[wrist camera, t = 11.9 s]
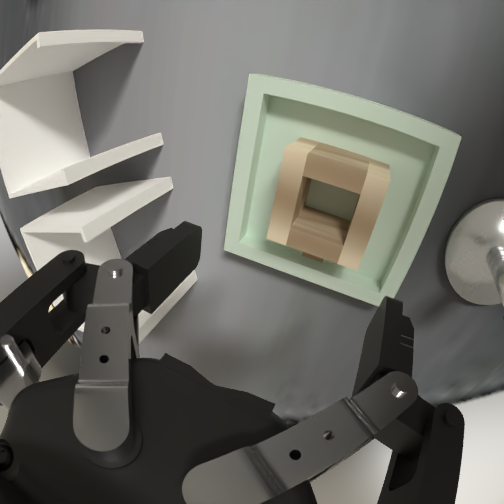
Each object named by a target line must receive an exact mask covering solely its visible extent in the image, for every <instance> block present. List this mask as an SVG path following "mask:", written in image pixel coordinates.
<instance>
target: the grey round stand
mask: <svg viewBox="0 0 504 504" xmlns="http://www.w3.org/2000/svg"><path fill="white" fill-rule="evenodd" d="M444 262H445V268H446V272H447V276H448V279H449V282H450V284H451V285H452V287H453V289H454V290H455V291H456V292H457V293H458V294H459V295H460V296H461V297H462V298H464V299H465V300H467V301H469V302H472V303H475V304H480V305H494V304H499V303H502V304H503V306H504V198H492V199H487V200H484V201H481V202H479V203H477V204H475V205H473V206H472V207H471V208H469V209H468V210H467V211H465V212H464V213H463V214H462V215H461V216H460V218H459V219H458V220H457V221H456V223H455V224H454V226H453V227H452V229H451V231H450V233H449V236H448V238H447V241H446V245H445V252H444ZM503 319H504V317H503Z"/></svg>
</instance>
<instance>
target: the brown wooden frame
mask: <svg viewBox="0 0 504 504" xmlns="http://www.w3.org/2000/svg"><path fill="white" fill-rule="evenodd" d="M311 179H315V180H318V181H321V182H324V183H327V184H330V185H334V186H337V187H340V188H343V189H346V190H349V191H352V192H355V193H357V194H359V197H358V200H357V203H356V206H355V209H354V212H353V215H352V218H351V221H349V220H347V219H344V218H341V217H338V216H335V215H332V214H329V213H326V212H323V211H320V210H317V209H314V208H311V207H308V206H305V203H306V199H307V195H308V191H309V187H310V183H311ZM389 183H390V167H389V164H386V163H383V162H381V161H378V160H375V159H372V158H369V157H366V156H363V155H360V154H357V153H354V152H351V151H348V150H344V149H341V148H338V147H335V146H331V145H328V144H325V143H321V142H318V141H314V140H311V139H307V138H303V137H300V138H299V139H297V140H295V141H294V142H292V143H291V144H289V145H288V146H286V147H285V148H284V154H283V159H282V164H281V169H280V174H279V179H278V184H277V189H276V194H275V198H274V203H273V208H272V213H271V218H270V223H269V228H268V233H267V238H266V239H268V240H271V241H274V242H277V243H280V244H282V245H285V246H288V247H291V248H294V249H297V250H300V251H302V252H303V254H302V256H305V257H307V258H310V259H313V260H316V261H319V262H321V263H322V262H323V260H324V259H325V260H328V261H331V262H334V263H336V264H339V265H342V266H345V267H348V268H350V269H353V270H356V271H357V270H358V267H359V265H360V262H361V260H362V257H363V255H364V252H365V250H366V247H367V245H368V242H369V239H370V237H371V234H372V231H373V229H374V226H375V223H376V221H377V218H378V215H379V212H380V210H381V207H382V204H383V201H384V198H385V195H386V192H387V189H388V186H389Z"/></svg>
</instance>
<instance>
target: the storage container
mask: <svg viewBox="0 0 504 504" xmlns="http://www.w3.org/2000/svg"><path fill="white" fill-rule="evenodd" d="M143 42H144V39H143V33H142V31H131V30H66V31H50V32H39V33H38V34H37V35H36V36H34V37H33V38H32V39H31V40H30V41H29V42H28V43H27V44H26V45H25V46H24V47H23V48H22V49H21V50H20V51H19V52H18V53H17V54H16V55H15V56H14V57H13V58H12V59H11V60H10V61H9V62H8V63H7V64H6V65H5V66H4V67H3V68H2V69H1V70H0V168H1V171H2V175H3V179H4V182H5V185H6V189H7V192H8V195H9V198H13V197H17V196H22V195H26V194H30V193H34V192H39V191H43V190H47V189H52V188H57V187H61V186H66V185H70V184H72V183H74V182H76V181H78V180H80V179H82V178H84V177H86V176H89V175H91V174H93V173H95V172H97V171H100V170H102V169H104V168H107V167H109V166H111V165H113V164H116V163H118V162H121V161H123V160H125V159H128V158H130V157H133V156H135V155H138V154H140V153H143V152H145V151H148V150H150V149H153V148H156V147H158V146H161V145H164V144H163V140H162V135H161V133H157V134H154V135H151V136H148V137H145V138H142V139H139V140H136V141H133V142H130V143H127V144H125V145H122V146H119V147H116V148H114V149H111V150H108V151H106V152H103V153H100V154H98V155H95V156H93V157H90V153H89V149H88V145H87V141H86V137H85V132H84V128H83V123H82V119H81V114H80V109H79V104H78V99H77V94H76V88H75V82H74V76H73V71H74V70H76V69H78V68H79V67H81V66H83V65H84V64H86V63H88V62H90V61H92V60H93V59H95V58H97V57H99V56H101V55H103V54H104V53H106V52H108V51H110V50H112V49H114V48H116V47H118V46H120V45H122V44H124V43H143ZM172 189H173V184H172V180H171V177H164V178H155V179H147V180H139V181H131V182H124V183H117V184H110V185H103V186H97V187H94V188H93V189H91V190H89V191H87V192H85V193H83V194H81V195H79V196H77V197H75V198H73V199H71V200H69V201H67V202H66V203H64V204H62V205H60V206H58V207H56V208H55V209H53V210H51V211H49V212H48V213H46V214H44V215H42V216H41V217H39V218H37V219H35V220H34V221H32V222H30V223H29V224H27V225H25V226H24V227H22V228H20V230H21V233H22V235H23V238H24V241H25V243H26V246H27V248H28V251H29V253H30V255H31V258H32V260H33V262H34V265H35V267H36V269H37V271H38V270H39V269H40V268H42V267H43V266H44V265H45V264H47V263H48V262H49V261H50V260H52V259H53V258H54V257H56V256H57V255H58V254H60V253H61V252H64V251H67V250H78V251H80V252H82V253H83V255H84V258H85V263H89V264H94V265H100V266H101V264H103V263H104V262H106V261H108V260H111V259H122V258H121V255H120V252H119V250H118V247H117V244H116V241H115V238H114V235H113V232H112V229H111V226H113V225H114V224H116V223H117V222H119V221H121V220H122V219H124V218H125V217H127V216H128V215H130V214H132V213H133V212H135V211H136V210H138V209H140V208H141V207H143V206H145V205H146V204H148V203H150V202H151V201H153V200H155V199H156V198H158V197H160V196H161V195H163V194H165V193H166V192H168V191H170V190H172ZM196 281H197V276H196V273H195V271H193V272H192V273H191V274H190V275H189V276H188V277H187V278H186V279H185V280H184V281H183V282H182V283H181V284H180V285H179V286H178V287H177V288H176V289H175V290H174V291H173V292H172V293H171V294H170V296H169V297H168V298H167V299H166V300H165V301H164V302H163V303H162V304H161V305H160V306H159V307H158V308H157V309H156V310H155V311H154V312H153V313H152V314H150V313H148V312H146V311H144V310H142V311H141V312H140V313H139V314H138V317H139V344H140V343H141V341H142V340H143V339H144V338H145V337H146V336H147V335H148V334H149V333H150V331H151V330H152V329H153V328H154V327H155V326H156V325H157V324H158V323H159V321H160V320H161V319H162V318H163V317H164V316H165V315H166V314H167V313H168V312H169V310H170V309H171V308H172V307H173V306H174V305H175V304H176V303H177V302H178V301H179V300H180V298H181V297H182V296H183V295H184V294H185V293H186V292H187V291H188V290H189V289H190V288H191V286H192V285H193V284H194V283H195V282H196ZM63 299H64V298H63V294H61V295H60V296H59V297H58V298H57V299H56V300H55V301H54V302H53V305H54V307H55V306H57V305H58V304H59V303H60V302H61V301H62V300H63ZM84 325H85V322H84V323H83V324H82V325H81V326H80V327H79V328H78V330H80V331H83V332H84Z"/></svg>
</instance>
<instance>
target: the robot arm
mask: <svg viewBox="0 0 504 504" xmlns="http://www.w3.org/2000/svg"><path fill="white" fill-rule="evenodd" d="M201 238H202V228H201V227H200V226H197V225H194V224H192V223H189V222H186V221H184V222H182V223H181V224H180V225H179V226H177V227H176V228H175V229H172V228H170V229H167V230H164V231H161V232H159V233H158V234H157V235H156V236H154V237H153V238H152V239H150V240H149V241H148V242H146V244H144V245H143V246H141V247H140V248H139V249H137V250H136V251H135V252H134V253H132V254H131V255H130V256H129V257H127V258H126V259H125V260H124V259H111V260H108V261H106V262H104V263H103V264H101V266H100V265H94V264H89V263H85V258H84V255H83V253H82V252H80V251H78V250H67V251H64V252H61V253H60V254H58V255H57V256H56V257H54V258H53V259H52V260H50V261H49V262H48V263H47V264H45V265H44V266H43V267H42V268H40V269H39V270H38V271H37V272H36V273H34V274H33V275H32V276H31V277H30V278H28V279H27V280H26V281H25V282H24V283H22V284H21V285H20V286H19V287H18V288H17V289H15V290H14V291H13V292H12V293H11V294H10V295H8V296H7V297H6V298H5V299H4V300H3V301H2V302H1V303H0V405H2V406H4V407H5V408H6V409H8V411H9V413H8V417H7V420H6V424H5V426H4V429H3V431H2V433H1V435H0V504H317V501H316V498H315V495H314V493H313V490H312V487H311V484H310V483H311V482H312V481H314V480H315V479H317V478H319V477H320V476H322V475H323V474H325V473H327V472H328V471H329V470H331V469H332V468H334V467H335V466H337V465H338V464H340V463H341V462H342V461H344V460H345V459H347V458H348V457H350V456H351V455H353V454H354V453H355V452H357V451H358V450H360V449H361V448H362V447H364V446H365V445H366V444H368V443H369V442H370V441H371V440H373V439H374V438H375V439H377V440H378V441H380V442H381V443H383V444H384V445H386V446H387V447H389V448H390V449H392V450H393V451H392V455H391V459H390V463H389V466H388V470H387V474H386V477H385V480H384V484H383V487H382V490H381V493H380V496H379V500H378V503H377V504H455V499H456V493H457V488H458V481H459V475H460V467H461V459H462V450H463V438H464V425H465V424H464V418H463V415H462V414H461V412H460V410H459V409H458V408H457V407H455V406H454V405H452V404H449V403H443V404H440V405H439V406H438V407H437V408H435V407H434V406H432V405H431V404H429V403H428V402H426V401H425V400H423V399H422V398H421V397H420V396H419V395H418V387H417V385H416V383H415V381H414V380H413V379H412V366H413V343H414V340H413V339H414V328H413V325H412V323H411V320H410V318H408V317H405V316H403V315H402V310H403V303H402V301H399V300H396V299H394V298H391V297H388V296H385V297H384V298H383V300H382V302H381V304H380V305H379V307H378V309H377V311H376V313H375V315H374V316H373V318H372V320H371V322H370V324H369V326H368V328H367V331H366V334H365V339H364V344H363V349H362V354H361V359H360V363H359V368H358V372H357V377H356V381H355V385H354V390H353V394H352V398H350V399H348V398H347V397H346V398H343V399H341V400H339V401H338V402H336V403H334V404H333V405H331V406H329V407H327V408H326V409H324V410H322V411H320V412H319V413H317V414H315V415H313V416H312V417H310V418H308V419H306V420H304V421H302V422H300V423H299V424H297V425H295V426H293V427H291V428H289V427H288V426H287V425H286V423H285V422H284V421H283V420H282V419H281V418H280V417H279V416H277V415H276V414H275V413H273V412H272V410H273V408H274V406H275V404H274V403H272V402H269V401H267V400H264V399H262V398H259V397H257V396H255V395H252V394H250V393H248V392H244V391H238V390H234V389H229V388H224V387H219V386H216V385H213V384H212V383H211V382H209V381H208V380H207V379H206V378H204V377H203V376H202V375H201V374H200V373H198V372H197V371H196V370H195V369H194V368H192V367H191V366H190V365H188V364H186V363H184V362H182V361H180V360H178V359H176V358H174V357H172V356H170V355H168V354H166V353H165V354H164V356H163V357H162V358H161V359H160V360H158V359H153V358H140V354H139V317H138V314H139V313H140V312H141V311H142V310H144V311H146V312H148V313H150V314H152V313H153V312H154V311H155V310H156V309H157V308H158V307H159V306H160V305H161V304H162V303H163V302H164V301H165V300H166V299H167V298H168V297H169V296H170V294H171V293H172V292H173V291H174V290H175V289H176V288H177V287H178V286H179V285H180V284H181V283H182V282H183V281H184V280H185V279H186V278H187V277H188V276H189V275H190V274H191V273H192V272H193V271H194V269H195V268H196V267H197V265H198V262H199V259H200V252H201ZM61 294H63V298H64V299H63V300H62V301H61V302H60V303H59V304H58V305H57V306H55V307H54V308H53V309H52V310H51V311H50V312H49V313H48V310H49V307H50V305H51V304H52V303H53V302H54V301H55V300H56V299H57V298H58V297H59V296H60V295H61ZM84 322H85V325H84V333H83V341H82V349H81V360H80V370H79V373H76V374H72V375H68V376H64V377H60V378H55V379H51V380H47V381H42V382H39V379H40V376H41V369H42V367H43V366H44V365H45V364H46V363H47V362H48V361H49V360H50V358H51V357H52V356H53V355H54V354H55V353H56V352H57V351H58V350H59V349H60V347H61V346H62V345H63V344H64V343H65V342H66V341H67V340H68V339H69V338H70V337H71V336H72V335H73V334H74V332H75V331H76V330H77V329H78V328H79V327H80V326H81V325H82V324H83V323H84Z"/></svg>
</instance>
